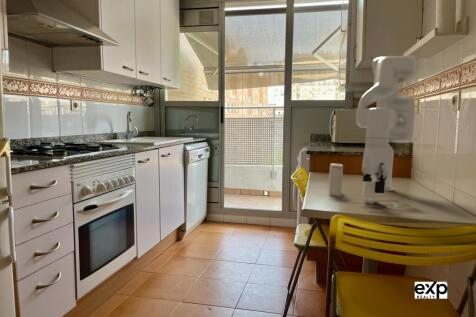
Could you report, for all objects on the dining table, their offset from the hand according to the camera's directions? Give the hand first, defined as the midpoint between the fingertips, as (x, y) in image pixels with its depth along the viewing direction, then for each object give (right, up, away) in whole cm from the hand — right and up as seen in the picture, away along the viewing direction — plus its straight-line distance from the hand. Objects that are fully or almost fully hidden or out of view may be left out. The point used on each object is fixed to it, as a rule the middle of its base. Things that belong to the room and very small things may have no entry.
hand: (372, 190), depth 130 cm
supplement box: (-10, -4, +16) cm, 19 cm away
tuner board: (+3, -6, -1) cm, 7 cm away
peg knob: (0, -5, -3) cm, 6 cm away
